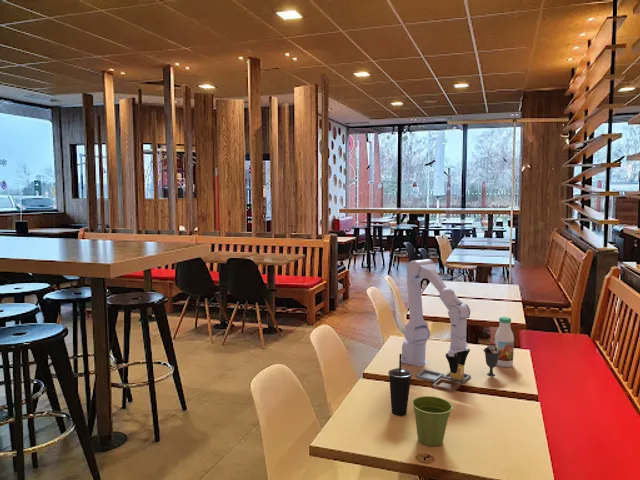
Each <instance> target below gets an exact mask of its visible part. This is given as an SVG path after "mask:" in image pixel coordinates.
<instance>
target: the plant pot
mask: <svg viewBox="0 0 640 480" xmlns="http://www.w3.org/2000/svg"><path fill="white" fill-rule="evenodd" d="M411 406H412V407H413V413H414V418H415V424H416V434H417V440H418V442H419V443H421V444H423V445H425V446H428V445H429V446H428V447H437V445H438V446H440V445H442V444H443V442H444V437H445V433H446V430H447V429H446V428H447V426H448V425H447V424H448V421H449V418H450V415H451V411H453V409H454V406H453V404H452V402H450V401H449V400H447V399H446V398H445V399H444V398H442V397H438V396H432V395H421V396H417V397H415V398H413V399H412V400H411Z"/></svg>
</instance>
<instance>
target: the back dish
mask: <svg viewBox="0 0 640 480" xmlns="http://www.w3.org/2000/svg"><path fill="white" fill-rule="evenodd" d="M471 377H472V376H471V374H469V373H465V372H464V378H463V379H462V380H459V379H454V378H450V371H448V372H447V373H446V374H444V376H443V377H442V378H443V379H447V380H451V381H456V382H460V383H461V385H462V384H463V385H464V384H465V383H466V382H467V381H469V379H471Z"/></svg>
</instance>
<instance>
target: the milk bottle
mask: <svg viewBox="0 0 640 480" xmlns="http://www.w3.org/2000/svg"><path fill="white" fill-rule="evenodd" d="M498 323H499V326H498V327H497V330H496V332H495V334H494V338H495V342H494V341H493V344H496V347H497V348H498V350H499V351H501V354H499V357H498V362H497V365H496V366H497V367H500V368H511V367H513V365H514V355H515V353H514V351H515V350H514V349H515V348H514V347H515V337H514V333H513V330H512V328H511V324H512V318H511V317H508V316H499V319H498Z"/></svg>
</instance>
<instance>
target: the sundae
mask: <svg viewBox="0 0 640 480" xmlns="http://www.w3.org/2000/svg"><path fill="white" fill-rule="evenodd" d="M494 342H495V337H493V341H492V342H490V343H489V344H488V345H487V346H486V347H485V348H484V349H483V350H482V351H483V352H484V356H485V364H486V365H487V366H488V368H489V371H488V373H486V376H488V377H496V374H494V372H493V371H494V368H495V367H496V366H497V362H498V357H499V354H501V351H499V350H498V348H497V347H496V344H494Z"/></svg>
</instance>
